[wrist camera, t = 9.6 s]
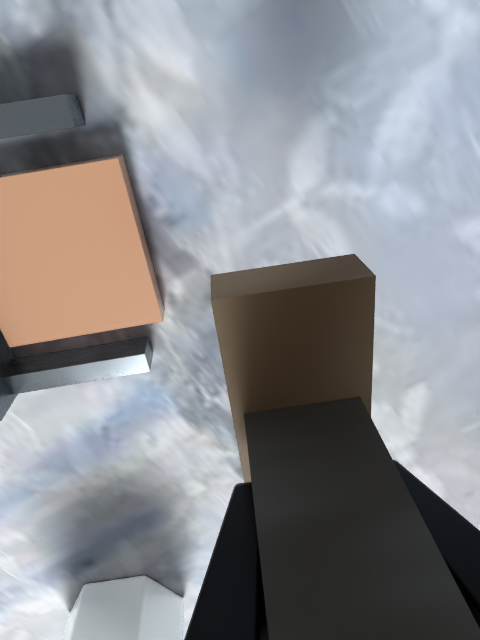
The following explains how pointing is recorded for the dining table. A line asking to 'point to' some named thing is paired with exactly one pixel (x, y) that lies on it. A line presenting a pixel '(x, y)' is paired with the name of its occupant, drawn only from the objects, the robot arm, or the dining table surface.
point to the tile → (73, 253)
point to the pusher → (326, 461)
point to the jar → (126, 611)
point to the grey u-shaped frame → (72, 365)
